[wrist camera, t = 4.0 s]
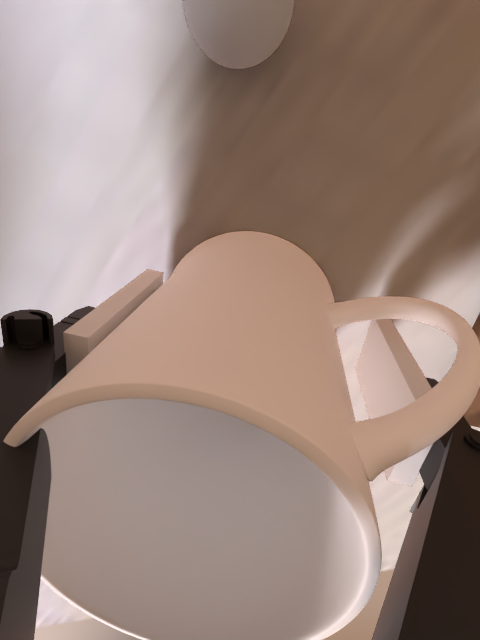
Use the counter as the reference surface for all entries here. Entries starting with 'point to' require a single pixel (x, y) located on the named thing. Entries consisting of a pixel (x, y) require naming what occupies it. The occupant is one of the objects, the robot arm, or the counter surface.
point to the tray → (476, 413)
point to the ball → (238, 29)
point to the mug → (230, 452)
